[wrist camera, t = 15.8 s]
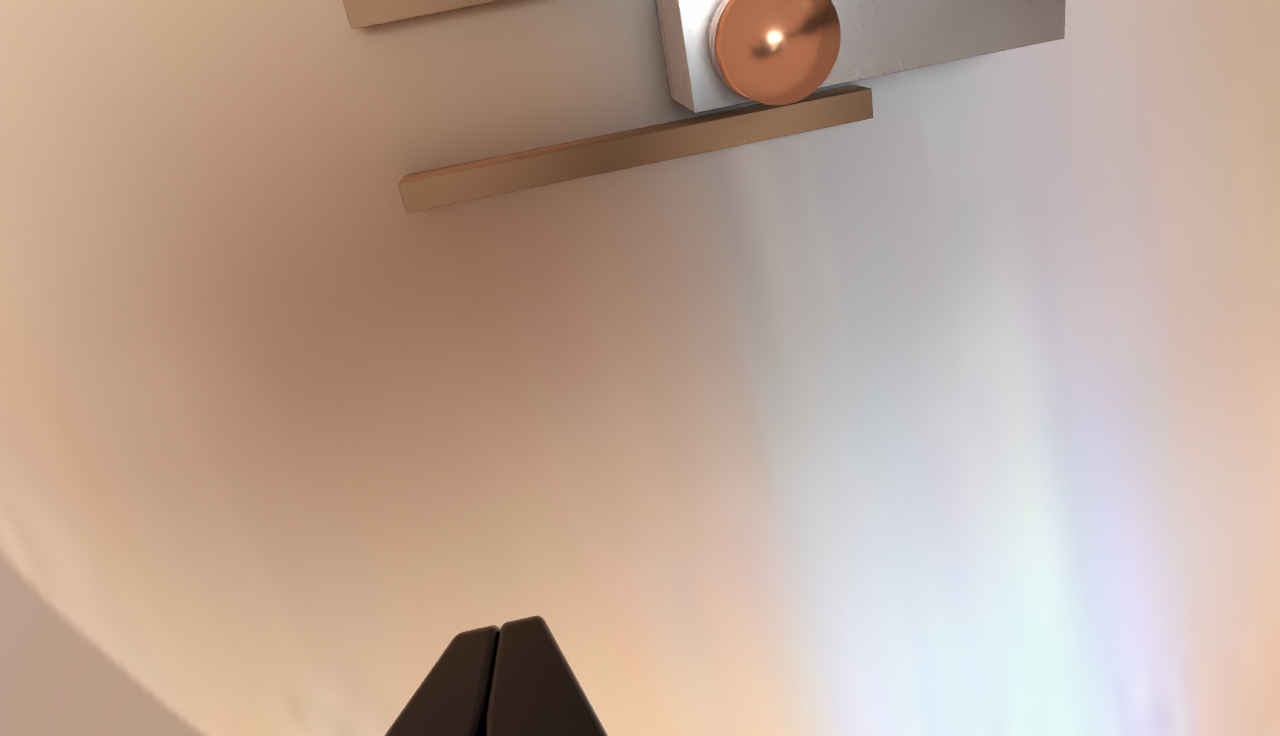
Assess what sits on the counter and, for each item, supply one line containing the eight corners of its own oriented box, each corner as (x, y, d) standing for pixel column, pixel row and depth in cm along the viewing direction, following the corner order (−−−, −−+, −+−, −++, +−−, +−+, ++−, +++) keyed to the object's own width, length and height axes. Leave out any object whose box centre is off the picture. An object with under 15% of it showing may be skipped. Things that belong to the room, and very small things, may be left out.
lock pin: (983, -68, 17) (1111, -92, 13) (983, 34, 18) (1105, 39, 14) (655, -3, 17) (689, -8, 13) (671, 97, 18) (706, 120, 14)
